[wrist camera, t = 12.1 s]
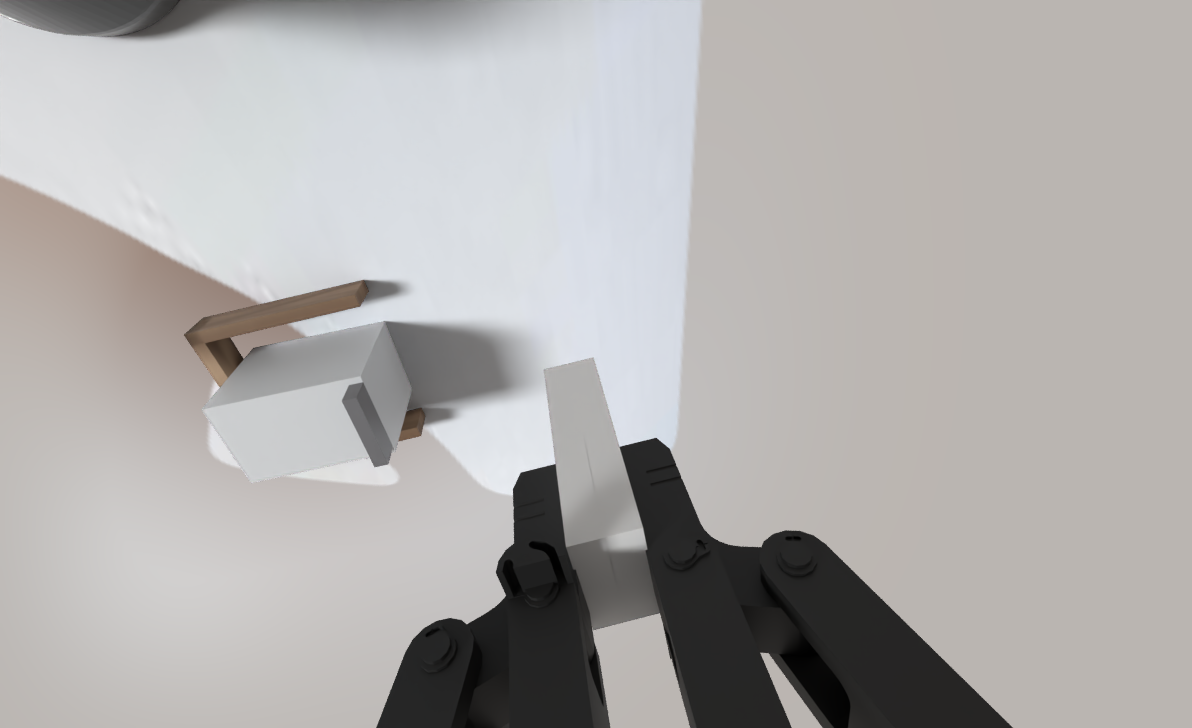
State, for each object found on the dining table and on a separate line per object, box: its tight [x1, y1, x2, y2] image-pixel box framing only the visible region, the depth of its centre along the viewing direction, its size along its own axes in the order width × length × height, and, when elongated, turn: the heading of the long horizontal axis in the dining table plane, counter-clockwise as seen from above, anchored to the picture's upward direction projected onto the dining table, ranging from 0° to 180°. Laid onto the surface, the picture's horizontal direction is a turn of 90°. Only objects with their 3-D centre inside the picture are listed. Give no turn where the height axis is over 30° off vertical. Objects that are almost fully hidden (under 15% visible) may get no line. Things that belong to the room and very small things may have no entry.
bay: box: [184, 280, 425, 441], centre depth 45 cm, size 14×13×3 cm
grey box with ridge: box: [202, 321, 412, 483], centre depth 42 cm, size 7×11×11 cm, turn 99°
